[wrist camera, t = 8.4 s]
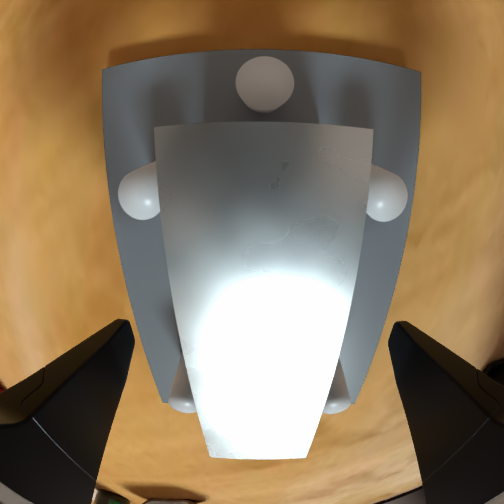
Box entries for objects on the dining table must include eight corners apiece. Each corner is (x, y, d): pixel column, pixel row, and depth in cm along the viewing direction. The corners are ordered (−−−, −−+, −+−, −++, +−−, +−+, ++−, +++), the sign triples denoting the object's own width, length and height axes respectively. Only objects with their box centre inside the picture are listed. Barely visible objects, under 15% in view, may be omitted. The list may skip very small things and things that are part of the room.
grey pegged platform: (408, 74, 9) (466, 63, 5) (351, 392, 17) (364, 442, 13) (113, 72, 9) (56, 59, 5) (165, 390, 17) (152, 440, 13)
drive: (321, 124, 9) (375, 129, 5) (297, 375, 14) (306, 457, 10) (201, 123, 9) (151, 127, 5) (219, 374, 14) (209, 456, 10)
